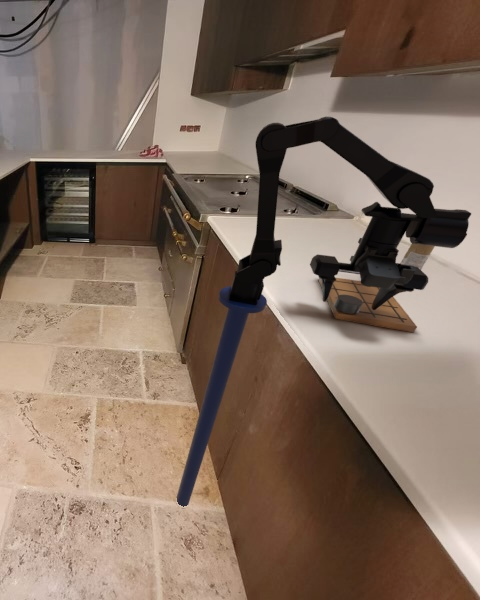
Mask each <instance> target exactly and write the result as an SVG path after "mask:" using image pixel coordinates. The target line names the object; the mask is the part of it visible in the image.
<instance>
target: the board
mask: <svg viewBox="0 0 480 600" xmlns="http://www.w3.org/2000/svg"><path fill="white" fill-rule="evenodd" d="M335 278H336V281H335V282H334V283H333V284H332V287H331V290H330V293H329V296H328V298H327V300H326V302H327V304H328V305H329V307H330V309H331V312H332V314H333V317H334V319H337V320H340V321H341V320H342V321H347V322H354V323H359V324H364V325H371V326H376V327H381V328H386V329H392V330H398V331H404V332H409V333H414V332H415V331H416V329H417V328H418V326H417V325H416V323H415V322H414V321H413V319H412V318H411V317H410V315H408V313H407V312H406V310H405V309H404V308H403V307H402V306H401V304H400V303H399V302H398V301H397V299H396V298H395V296H393V297H392V298H390V299H389V300H388V301H386V302H385V303H384V304H382V305H381V306H380V307H378V308H377V309H376V310H373V309H372V308H371V307H372V304H373V301H374V299H375V297H376V295H377V293H378V291H379V289H380V288H378V287H367V286H364V285H362V284H361V280H356V279H349V278H342V277H335ZM317 280H318V282H319V285H320V287H321V289H322V279H321V278H319V277H318V279H317ZM339 295H351V296H354V297H357V298H359V299H360V300H362V301H363V305H362V306H361V308H360V310H359V312H358V313H357V314H348V313H344V312H341V311H339V310H337V309H336V308H335V307H334V303H335V301H336V299H337V297H338V296H339Z"/></svg>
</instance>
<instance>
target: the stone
mask: <svg viewBox="0 0 480 600" xmlns="http://www.w3.org/2000/svg"><path fill="white" fill-rule="evenodd" d="M362 305H363V301H362V300H360V299H359V298H357V297H354V296H351V295H339V296H338V297H337V299H336V301H335V303H334V307H335V308H336V309H337V310H339V311H341V312H344V313H348V314H357V313H358V312H359V310H360V308H361V306H362Z"/></svg>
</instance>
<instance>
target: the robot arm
mask: <svg viewBox="0 0 480 600" xmlns="http://www.w3.org/2000/svg"><path fill="white" fill-rule="evenodd" d="M318 142H319V143H322V144H323V145H324V146H326V147H327V148H328V149H330V150H331V151H333V152H334V153H336V154H337V155H338V156H340V157H341V158H342V159H344V160H345V161H346V162H347V163H349V164H350V165H352V166H353V167H354V168H356V170H358V171H359V172H361V173H362V174H363V175H365V176H366V177H367V179H368V180H369V182H370V183H371V184H372V185H373V186H374V188H375V189H376V190H377V192H379V194H380V195H381V196H382V197H383V198H384V199H385V200H386V201H387V202H388V203H390V205H392V207H389V206H382V205H381V204H380V202H378V201H375V202H374V203H372V204H370V205H367V206H365V207H363V208H362V209H361V213H362V214H363V215H364V216H365V217H371V219H370V221H369V222H368V225H367V227H366V229H365V231H364V234H363V236H362V237H359V239H358V241H357V243H358V247H357V248H356V250H355V252H354V255H351V256H350V258H349V261H350V263H348V262H347V263H346V262H339V261H338V259H337V258H336V256H334V255H333V256H332V255H324V254H316V255H314V256H313V257H312V258H311V261H310V263H309V266H310V269H311V271H312V273H313V274H314V275H315V276H317V277H318V279H319V278H321V279H322V288H321V291H322V292H321V295H322V297H321V298H322V301H323V303H326V302H327V298H328V296H329V293H330V290H331V287H332V284H333V283H334V282H335V281H336V278H337V277H335V276H337V275H338V273H347V274H355V275H359V277H360V281H361V284H362V285H364V286H367V287H378V288H380V289H379V291H378V293H377V295H376V297H375V299H374V301H373V304H372V307H371V308H372V309H373V310H376V309H377V308H378V307H380V306H381V305H382V304H384V303H385V302H386V301H388V300H389V299H390V298H392V297H395V296H397V295H398V294H402V293H407V292H409V293H412V292H414V291H415V290H418V291H423V290H425V288H426V286H428V283H429V276H428V275H427V274H426V273H425V272H423V270H422V269H421V270H420V269H419V268H418V267H415V266H412V265H404V264H400V263H401V262H399V263H398V262H397V257H398V256H399V252H400V251H399V249H398V246H399V245H400V243H401V241H402V239H403V237H404V235H405V238H409V242H410V243H411V244H412V243H413V244H421V245H429V246H435V247H439V248H446V249H456V248H457V247H458V246H460V245H461V244H462V242H463V241H464V240H465V239H466V237H467V236H468V229H469V225H470V224H469V223H470V222H469V219H470V217H471V215H472V212H470V211H469V210H467V209H447V208H446V209H445V208H444V209H443V208H435V206H434V203H433V201H432V199H431V195H432V194H433V191H434V188H435V185H434V182H433V181H432V180H431V179H430V178H429V177H426V176H424V175H423V174H420V173H418V172H416V171H413V169H412V170H411V169H409V168H407V167H405V166H403V165H401V164H399V163H396V162H393V161H391V160H389V159H388V158H387V157H385V156H384V155H382V154H381V153H380V152H379V151H377V150H375V148H373V147H371V146H370V145H369V144H368V143H366V142H365V141H363V140H362V139H361V138H360V137H359V136H357V135H355V134H354V133H353V132H351V131H350V130H349V129H348V128H346V127H345V126H344V125H342V124H341V123H340V122H339V120H338V119H337V118H335V117H333V116H323V117H320V118H318V119H313V120H308V121H302V122H297V123H293V124H291V123H290V124H286V125H284V123H280V122H271V123H269V124H267V125H265V126H263V127H262V129H260V130H259V132H258V133H257V136H256V138H255V151H256V152H255V153H256V160H257V161H256V162H257V166H258V172H259V180H258V181H259V182H258V183H259V184H258V198H257V200H258V201H257V213H256V216H257V217H256V227H255V228H256V230H255V237H254V239H253V244H252V247H251V250H250V254H248V255H246V256H243V257H242V258H241V259H239V261H238V264H237V269H236V270H235V271H234V275H233V278H232V282H231V284H230V286H231V288H230V289H229V300H230V301H235V302H241V303H247V304H252V305H257V303H258V302H257V300H260V297H261V294H262V295H263V291H264V287H265V284H264V279H265V278H267V277H270V276H271V275H273V274H274V273H275V272H276V271H277V268H278V266H279V267H280V266H282V265H281V264H282V263H281V254H282V251H283V242H282V239H276V238H275V228H276V217H277V205H278V194H279V185H280V184H279V183H280V182H279V181H280V173H281V169H282V168H283V167H282V166H283V164H284V160H285V156H286V154H287V150H288V149H291V148H296V147H300V146H305V145H309V144H314V143H318ZM405 209H409V210H410V211H411V212H413V213H408V212H407V213H406V212H405V213H404V212H402V210H405Z"/></svg>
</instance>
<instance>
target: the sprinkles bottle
mask: <svg viewBox="0 0 480 600" xmlns="http://www.w3.org/2000/svg"><path fill="white" fill-rule="evenodd" d="M434 248H436V246H429V245H421V244H413V243H411V244H410V246H409V248H408V249H407V251H406V252H405V254H404V256H403V258H402V259H401V261H400V262H399V263H400V264H404V265H412V266H415V267H418V268H419V269H420V270H421V271H422V269H423V267H424V266H425V264H426V262H427V261H428V259H429V257H430V256H431V253H432V252H433V250H434Z"/></svg>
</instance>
